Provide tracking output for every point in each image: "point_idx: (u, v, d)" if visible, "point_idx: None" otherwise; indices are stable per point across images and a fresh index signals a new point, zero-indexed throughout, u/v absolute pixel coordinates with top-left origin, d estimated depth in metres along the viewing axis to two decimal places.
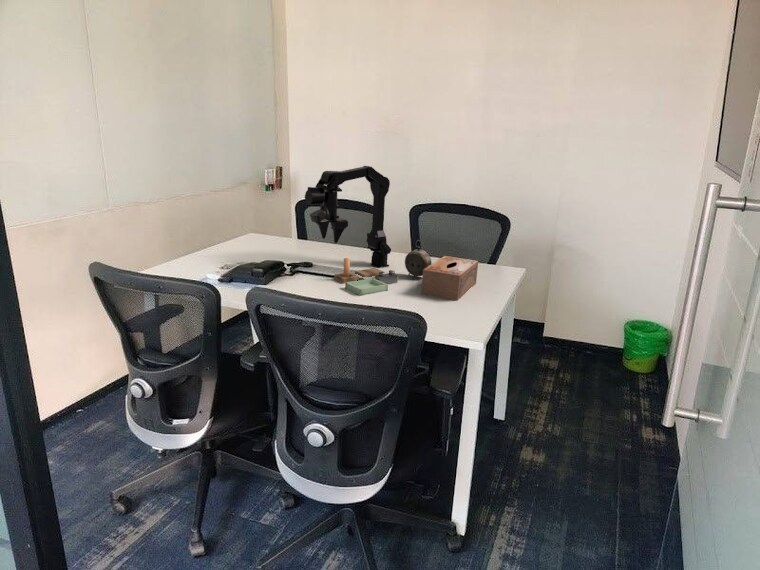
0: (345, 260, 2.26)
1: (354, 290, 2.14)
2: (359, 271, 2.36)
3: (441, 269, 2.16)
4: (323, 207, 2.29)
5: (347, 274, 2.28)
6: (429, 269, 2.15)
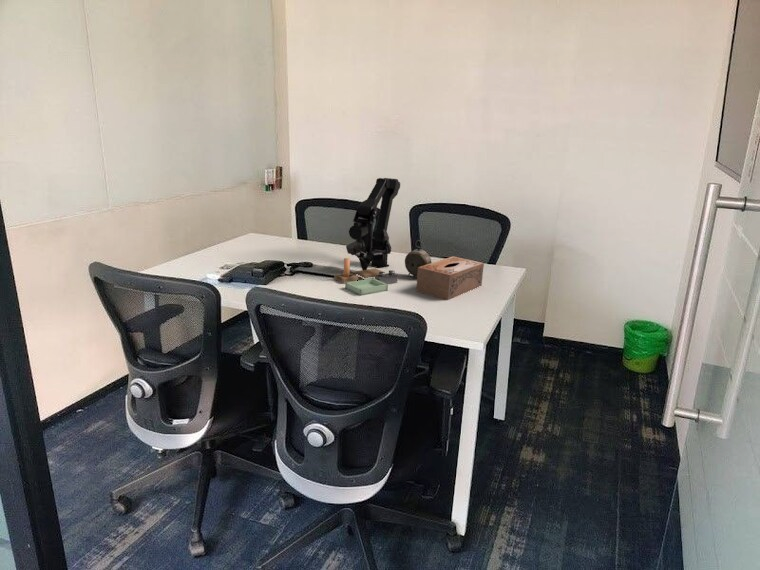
0: (345, 260, 2.26)
1: (354, 290, 2.14)
2: (360, 271, 2.36)
3: (436, 268, 2.17)
4: (359, 239, 2.34)
5: (347, 274, 2.28)
6: (424, 267, 2.17)
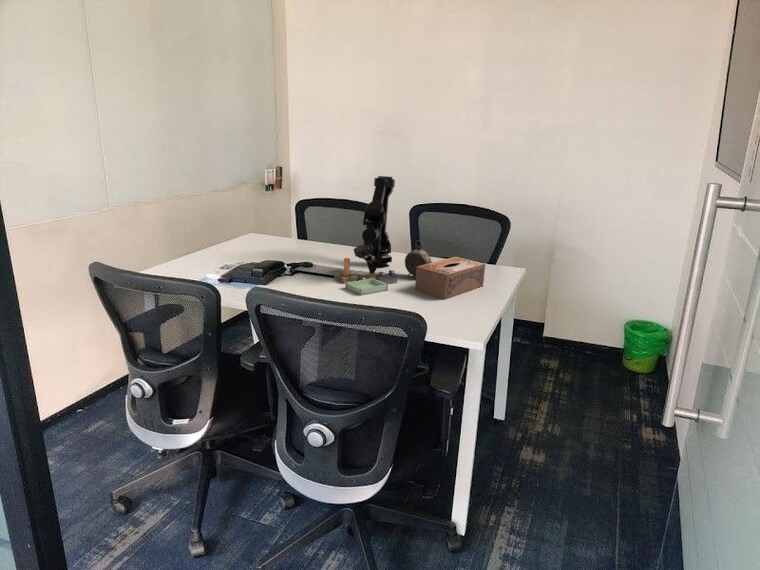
0: (345, 260, 2.26)
1: (354, 290, 2.14)
2: (367, 274, 2.32)
3: (435, 267, 2.18)
4: (367, 242, 2.30)
5: (347, 274, 2.28)
6: (423, 266, 2.18)
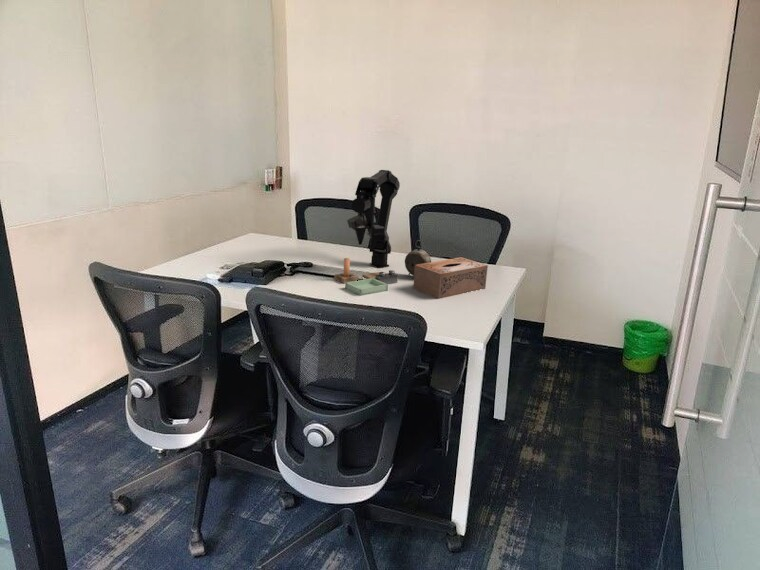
0: (345, 260, 2.26)
1: (354, 290, 2.14)
2: (367, 274, 2.32)
3: (433, 267, 2.19)
4: (360, 213, 2.30)
5: (347, 274, 2.28)
6: (421, 265, 2.20)
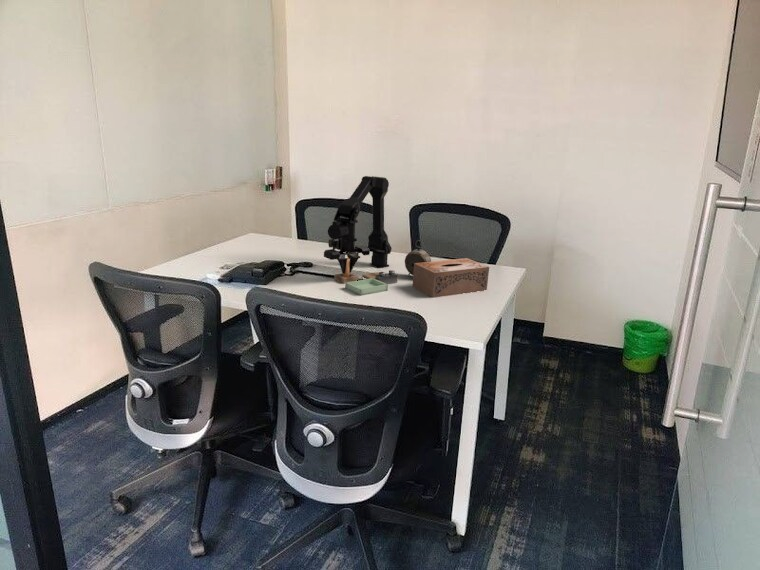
0: None
1: (354, 290, 2.14)
2: (367, 274, 2.32)
3: (431, 266, 2.20)
4: None
5: (347, 274, 2.28)
6: (420, 264, 2.22)
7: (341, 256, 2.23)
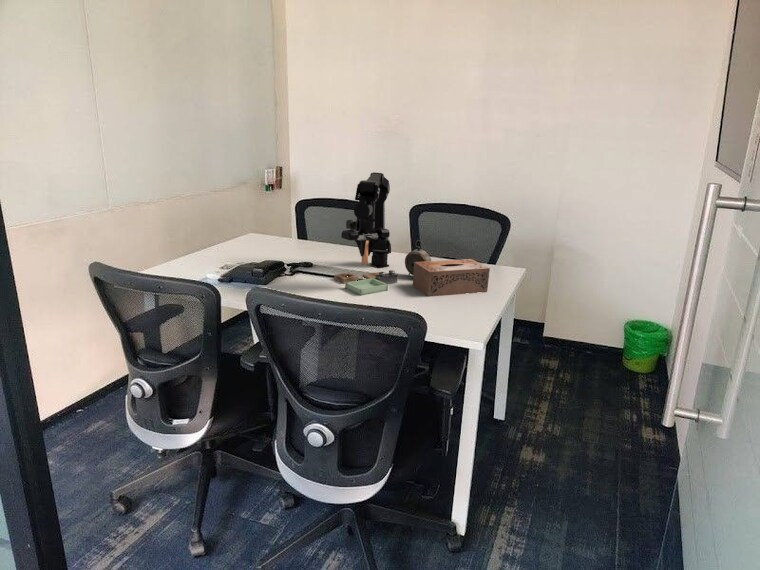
0: None
1: (354, 290, 2.14)
2: (367, 274, 2.32)
3: (430, 265, 2.21)
4: None
5: (366, 257, 2.15)
6: (420, 263, 2.24)
7: (360, 237, 2.10)
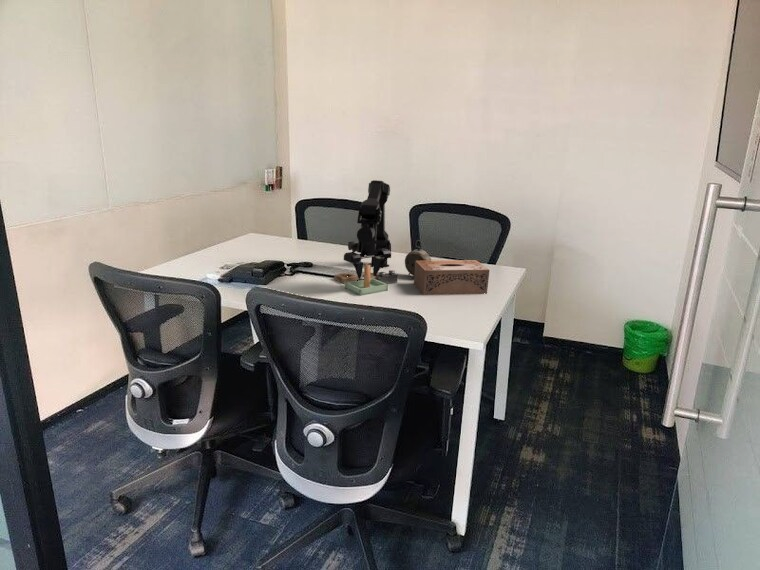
0: (366, 266, 2.16)
1: (354, 290, 2.14)
2: None
3: (429, 264, 2.22)
4: None
5: (368, 281, 2.17)
6: (420, 261, 2.25)
7: None
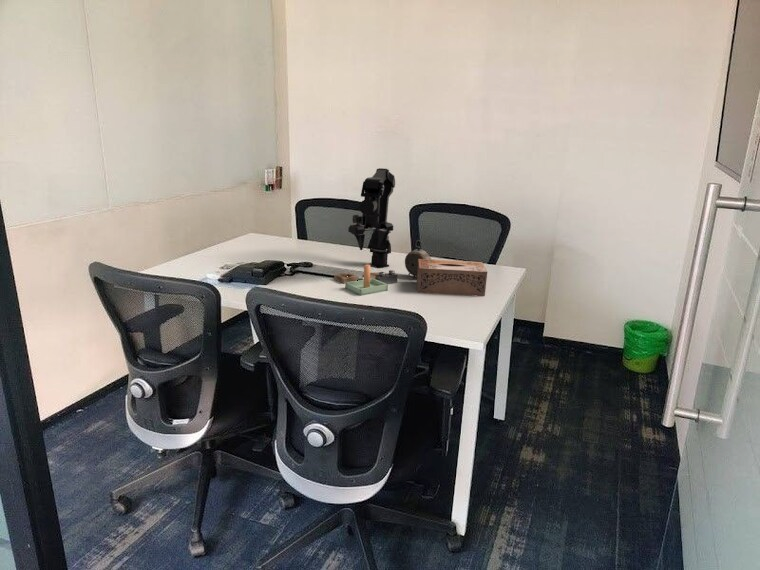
0: (365, 267, 2.16)
1: (354, 290, 2.14)
2: None
3: (429, 263, 2.24)
4: None
5: (367, 281, 2.17)
6: (422, 260, 2.28)
7: None
